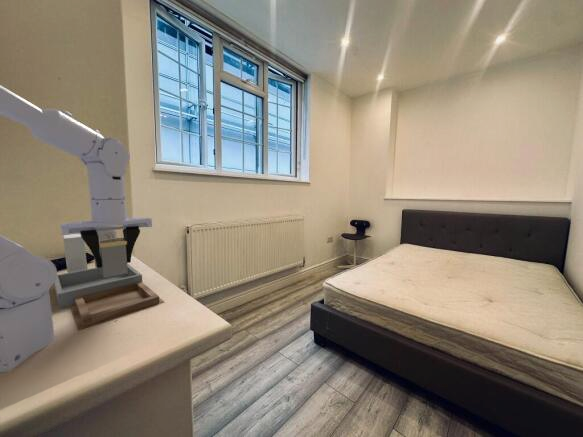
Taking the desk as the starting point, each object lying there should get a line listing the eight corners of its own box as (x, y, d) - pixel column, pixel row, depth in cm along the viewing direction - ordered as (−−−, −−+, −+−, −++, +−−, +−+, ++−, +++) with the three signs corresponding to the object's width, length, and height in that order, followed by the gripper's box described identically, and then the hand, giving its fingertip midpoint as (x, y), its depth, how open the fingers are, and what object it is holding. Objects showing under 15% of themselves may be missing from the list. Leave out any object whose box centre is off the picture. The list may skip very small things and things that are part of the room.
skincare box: (67, 275, 68) (62, 235, 67) (86, 271, 71) (82, 233, 70) (68, 281, 64) (63, 238, 63) (88, 277, 67) (84, 236, 66)
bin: (143, 290, 59) (141, 274, 58) (59, 312, 48) (57, 294, 47) (126, 275, 69) (125, 262, 68) (54, 291, 58) (52, 275, 57)
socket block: (165, 306, 51) (164, 296, 50) (78, 335, 40) (77, 323, 40) (144, 288, 60) (143, 279, 60) (69, 308, 50) (68, 297, 49)
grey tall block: (125, 268, 52) (123, 237, 52) (129, 273, 49) (126, 240, 48) (100, 272, 49) (97, 240, 48) (102, 278, 46) (99, 243, 45)
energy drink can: (109, 270, 72) (104, 222, 70) (90, 270, 72) (85, 222, 71) (123, 264, 78) (119, 220, 76) (105, 264, 78) (101, 220, 77)
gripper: (145, 198, 55) (148, 253, 57) (58, 199, 45) (66, 266, 47) (152, 199, 50) (156, 260, 52) (57, 200, 40) (66, 276, 42)
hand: (114, 264), depth 49 cm, fingers closed on grey tall block, 4 cm apart
